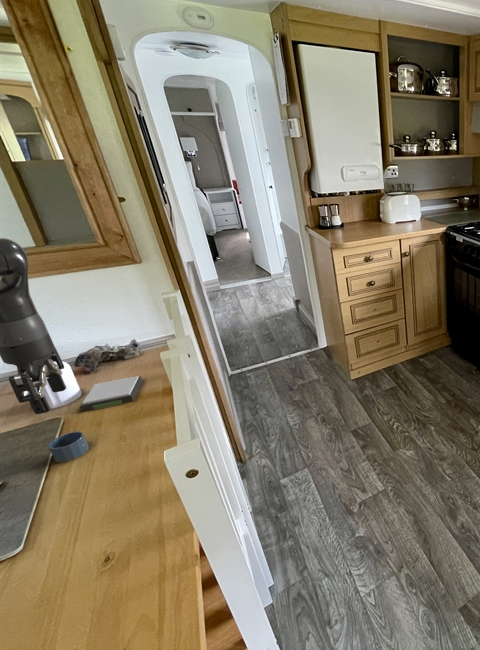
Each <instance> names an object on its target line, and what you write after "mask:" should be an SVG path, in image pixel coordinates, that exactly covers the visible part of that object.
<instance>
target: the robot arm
mask: <svg viewBox="0 0 480 650" xmlns="http://www.w3.org/2000/svg"><path fill="white" fill-rule="evenodd" d="M29 284H30V283H29V258H28V255H27V253H26V251H25V249H24V247H22V246H21V245H20V244H19V243H17V242H16V241H14V240H12V239H9V238H4V237H3V238H1V237H0V359H1V361H2V362H3V363H4V364H6V365H11V366H15V367H16V369H17V374H16V375H10V376H9V377H8V381H9V384H10V386H11V388H12V391H13V392H14V395H15V397H16V399H17V401H18V403H19V404H22V403H26V402H28V403H29V404H30V406H31V408H32V410H33V413H34V414H36V415H41V414H46V413H48V412H49V411H50V410H51V409H50V406H49V404H48V402H47V400H46V398H45V396H44V394H43V387H44V386H46V378H47V381H48V383H49V385H50V388H51V390H52V392H60V391H64V390H65V389H66V385H65V383H64V381H63V379H62V376H60V375H62V371H61V369H64V364H63V362H64V361H63V360H62V358H61V356H60V354H59V352H58V350H57V348H56V346H55V344H54V342H53V339H52V337H51V334H50V333H49V330H48V328H47V326H46V323H45V322H44V320H43V318H42V317H41V315H40V314H39V311H38V310H37V307H36V305H35V303H34V301H33V298H32V296H31V293H30V285H29ZM54 362H56V363H57V364H55V363H54ZM48 377H49V378H48ZM38 381H39V382H38ZM32 382H38V383H35V384H33V383H32ZM35 388H37V392H36V390H35Z"/></svg>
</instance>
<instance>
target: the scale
mask: <svg viewBox="0 0 480 650" xmlns="http://www.w3.org/2000/svg"><path fill="white" fill-rule="evenodd" d="M143 381H144V380H143V377H142V376H137V375H136V376H131V377H125V378H119V379H115V380H109V381H104V382H99V383H95V384H94V385H92V388H91V389H90V390H89V392H88V394H87V395H86V397H85V398H84V399H83V400H82V403H81V404H80V406H79V408H80V410H81V412H87V411H91V410H98V409H99V410H100V409H103V408H108V407H109V408H110V407H113V406H118V405H123V404H126V403H131V402H133V401H135V399H136V396H137V394H138V392H139V390H140V388H141V386H142V384H143Z"/></svg>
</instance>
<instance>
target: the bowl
mask: <svg viewBox="0 0 480 650" xmlns="http://www.w3.org/2000/svg"><path fill="white" fill-rule="evenodd" d="M88 443H89V442H88V441H87V439H86V436H85V434H84V433H83V431H77V430H76V431H71V432H67V433H64V434H61V435H59V436H58V437H56V438H54V439H52V440H51V441H50V442H49V444H48V445H47V447H48V450H49V451H50V453H51V455H52V457H53V459H54V461H55V462H57V463H64V462H68V461H73V460H75V459H78V458H79V457H80V456H83V455H84V454H85V453H86V452H87V451H88V450H89V448H90V445H89V444H88Z"/></svg>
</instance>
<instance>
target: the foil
mask: <svg viewBox="0 0 480 650" xmlns="http://www.w3.org/2000/svg"><path fill="white" fill-rule="evenodd" d="M140 345H141V344H140V342H138V341H137V340H136V339H135V338H133V339H132V340H131V341H130V343H129V344H128V345H125V346H124V345H119V344H114V345H113V346H110V345H109V344H108V343H107V342H106V343H105V344H104V345H97V344H95V346H94V347H92V348H89V349H87V350H86V351H83V352H79V353H78V355H77V356H76V358H75V360H74V363H73V364H74V368H80V367H81V368H84V369H85V371H84V373H85V374H86V373H87V372H90V374H93V373H96V368H97V366H98V365H99V362H101V361H103V362H104V361H105V362H107V361H109V360H112V359H115V358H117V357H118V355H120V354H123V356H124V357H123V358H124V360H128V359H134V358H137V357H140V356H141V347H140Z"/></svg>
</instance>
